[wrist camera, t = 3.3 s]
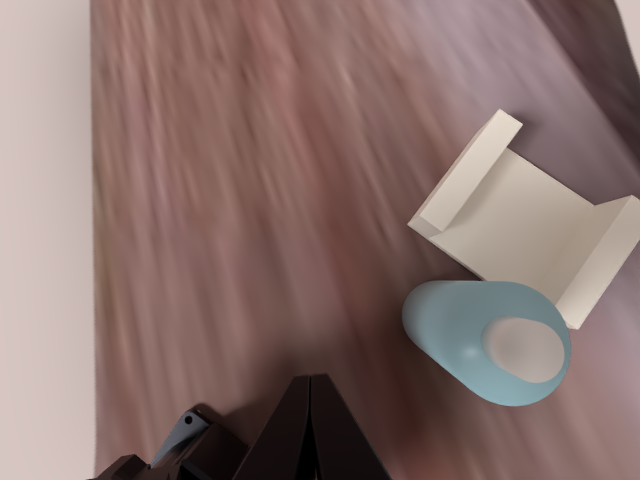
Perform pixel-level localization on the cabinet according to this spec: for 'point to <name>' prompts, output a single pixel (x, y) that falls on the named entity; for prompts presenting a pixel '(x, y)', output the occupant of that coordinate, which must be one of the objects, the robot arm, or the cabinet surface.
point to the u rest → (527, 224)
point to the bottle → (491, 337)
